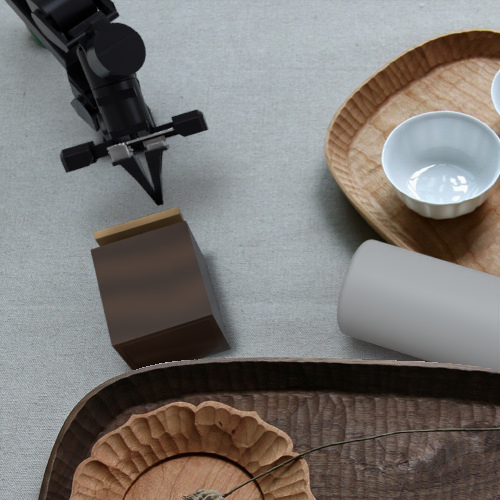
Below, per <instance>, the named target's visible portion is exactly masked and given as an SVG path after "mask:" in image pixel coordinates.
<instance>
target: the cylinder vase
mask: <svg viewBox="0 0 500 500" xmlns="http://www.w3.org/2000/svg"><path fill="white" fill-rule="evenodd" d="M336 322H337V326H338V329H339V330H340V332H341V333H342V334H343V335H345V336H348V337H351V338H354V339H358V340H360V341H364V342H367V343H369V344H372V345H376V346H379V347H382V348H385V349H388V350H392V351H395V352H398V353H401V354H404V355H407V356H410V357H413V358H416V359H420V360H423V361H426V362H429V363H432V362H438V363H452V364H462V365H471V366H479V367H483V368H491V369H489V370H495V372H498V373H500V276H498V275H494V274H492V273H491V274H490V273H489V272H488V273H487V272H484V271H481V270H477V269H474V268H471V267H467V266H463V265H460V264H457V263H455V262H451V261H446V260H443V259H441V258H436V257H434V256H430V255H427V254H423V253H420V252H416V251H413V250H410V249H406V248H403V247H401V246H396V245H393V244H389V243H386V242H382V241H380V240H376V239H368V240H365V241H363V242H362V243H361V244H360V245H359V246H358V248H357V249H356V250H355V252H354V253H353V255H352V257H351V259H350V261H349V263H348V265H347V267H346V271H345V273H344V277H343V280H342V283H341V286H340V291H339V295H338V300H337V308H336Z"/></svg>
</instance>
